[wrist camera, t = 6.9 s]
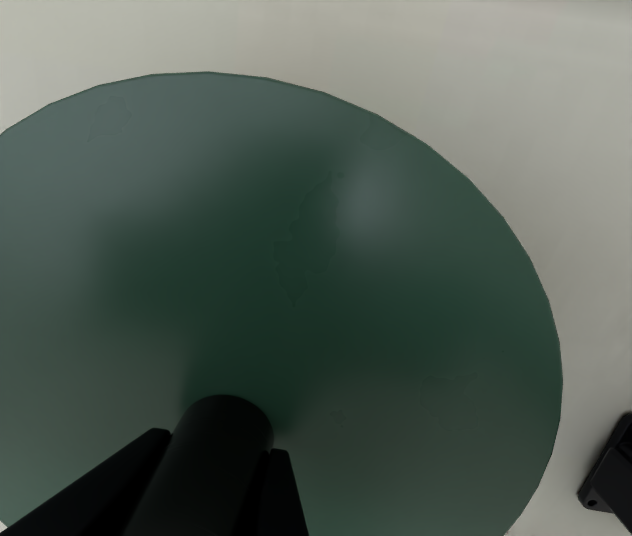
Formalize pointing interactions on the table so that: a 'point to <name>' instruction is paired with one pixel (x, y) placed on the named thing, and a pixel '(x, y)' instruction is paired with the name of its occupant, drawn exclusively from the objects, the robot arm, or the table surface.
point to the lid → (265, 314)
